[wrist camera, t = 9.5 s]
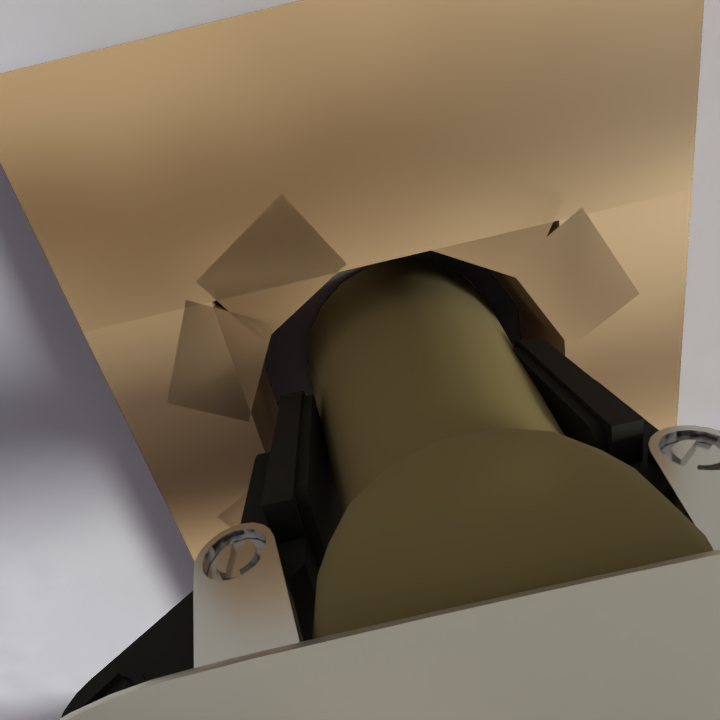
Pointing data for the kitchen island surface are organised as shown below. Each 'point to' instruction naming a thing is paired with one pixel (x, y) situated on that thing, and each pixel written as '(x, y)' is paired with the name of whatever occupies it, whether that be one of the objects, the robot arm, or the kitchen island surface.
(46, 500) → the kitchen island surface
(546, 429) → the cork
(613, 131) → the holder board
